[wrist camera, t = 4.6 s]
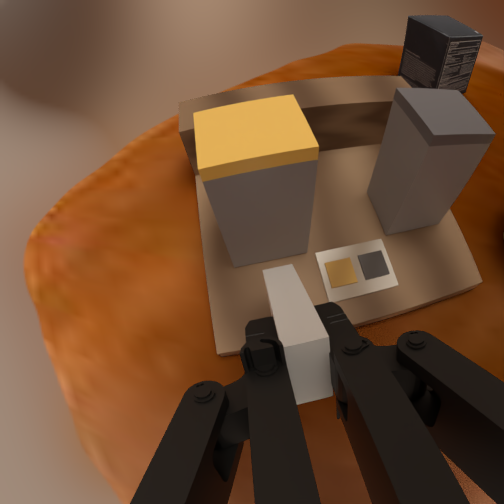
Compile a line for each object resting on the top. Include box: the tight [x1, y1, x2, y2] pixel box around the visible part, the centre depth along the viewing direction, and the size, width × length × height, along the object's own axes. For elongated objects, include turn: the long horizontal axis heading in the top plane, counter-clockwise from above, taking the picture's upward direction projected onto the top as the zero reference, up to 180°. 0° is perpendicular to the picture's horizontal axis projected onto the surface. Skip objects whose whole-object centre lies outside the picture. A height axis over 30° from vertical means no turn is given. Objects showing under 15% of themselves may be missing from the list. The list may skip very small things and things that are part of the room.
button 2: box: [193, 94, 319, 268], centre depth 17 cm, size 5×4×10 cm
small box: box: [398, 15, 483, 94], centre depth 27 cm, size 11×6×10 cm, turn 121°
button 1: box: [367, 88, 495, 235], centre depth 17 cm, size 5×4×10 cm
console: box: [179, 76, 483, 357], centre depth 21 cm, size 20×19×6 cm
